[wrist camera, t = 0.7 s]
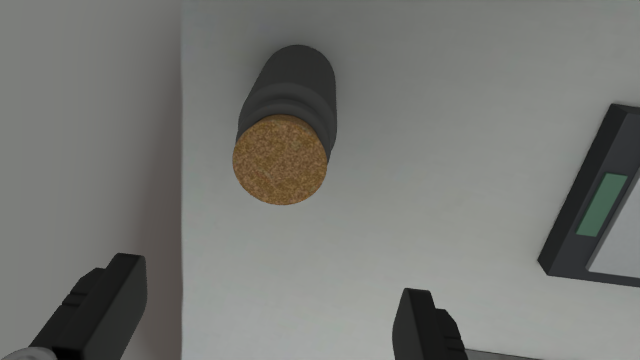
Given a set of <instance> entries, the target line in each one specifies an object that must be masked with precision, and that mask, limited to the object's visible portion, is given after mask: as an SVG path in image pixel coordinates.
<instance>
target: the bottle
mask: <svg viewBox="0 0 640 360" xmlns="http://www.w3.org/2000/svg"><path fill="white" fill-rule="evenodd" d="M336 133H337V109H336V85H335V76H334V72H333V69H332V67H331V65H330V63H329V61H328V60H327V59H326V58H325V57H324V56H323V55H322V54H321V53H320V52H318V51H317V50H315V49H313V48H310V47H307V46H302V45H293V46H288V47H285V48H282V49H280V50H279V51H277V52H276V53H274V54H273V55H272V56H271V57H270V59H269V60H268V61H267V63H266V64H265V66H264V68H263V69H262V71H261V73H260V75H259V77H258V78H257V80H256V82H255V84H254V86H253V88H252V90H251V91H250V93H249V95H248V97H247V99H246V101H245V103H244V105H243V107H242V110H241V113H240V116H239V122H238V132H237V137H236V144H235V148H234V152H233V169H234V172H235V175H236V177H237V179H238V181H239V183H240V184H241V185H242V187H243V188H244V189H245V190H246V191H247V192H248V193H249V194H250V195H252V196H254V197H255V198H257V199H259V200H261V201H263V202H266V203H269V204H275V205H289V204H295V203H298V202H301V201H303V200H305V199H307V198H308V197H310V196H311V195H313V194H314V193H315V192H316V191H317V190H318V188H319V187H320V186H321V184H322V182H323V180H324V178H325V176H326V171H327V165H328V162H329V158H330V154H331V150H332V148H333V146H334V143H335V140H336Z"/></svg>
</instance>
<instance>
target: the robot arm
mask: <svg viewBox="0 0 640 360" xmlns="http://www.w3.org/2000/svg"><path fill="white" fill-rule="evenodd" d="M146 303H147V277H146V261H145V257H144V256H141V255H133V254H124V253H117V254H116V255H115V256H114V258H113V259H112V260H111V262H110V263H109V265H108V266H107V267H106V269H103V268H95V269H93V270H92V271H91V272H89V273H88V274H86V275H85V276H83V277H82V278H80V279H79V281H78V282H77V283H76V285H75V286H74V287H73V289H72V290H71V292H70V294H69V295H67V297H66V298H65V299H64V301H63V302H62V305H60V306H59V307H58V308H57V310H56V311H55V312H54V314H53V315H52V317H51V318H50V319H49V320H48V322H47V323H46V324H45V326H44V327H43V328H42V330H41V331H40V332H39V334H38V335H37V336H36V338H35V339H34V340H33V342H32V343H31V344H30V345H29V347H28V348H24V349H20V350H18V351H15V352H13V353H11V354H9V355H7V356H6V357H4V358H3V359H1V360H120V359H121V357H122V355H123V353H124V351H125V349H126V347H127V345H128V343H129V341H130V339H131V337H132V335H133V333H134V331H135V329H136V327H137V325H138V323H139V321H140V319H141V317H142V315H143V313H144V310H145V307H146ZM392 343H393V350H394V356H395V360H469V359H468V356H467V353H466V352H465V348H464V345H463V342H462V340H461V336H460V333H459V330H458V327H457V324H456V322H455V321H454V320H453V318H452V317H451V316H450V315H449V314H448V312H447V311H446V310H445V309H436V308H435V305H434V302H433V299H432V295H431V293H430V291H428V290H419V289H411V288H405V289H404V291H403V293H402V297H401V300H400V303H399V307H398V310H397V314H396V317H395V321H394V324H393V332H392Z"/></svg>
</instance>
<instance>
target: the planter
mask: <svg viewBox="0 0 640 360" xmlns="http://www.w3.org/2000/svg"><path fill="white" fill-rule="evenodd" d="M465 352H466V353H467V356H468V359H469V360H536V359H529V358H522V357H515V356H507V355H500V354H493V353H486V352H479V351H472V350H466V349H465Z"/></svg>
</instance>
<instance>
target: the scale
mask: <svg viewBox="0 0 640 360" xmlns="http://www.w3.org/2000/svg"><path fill="white" fill-rule="evenodd" d="M538 262H539V264H540V265H541V267H542V268H543V270H544V272H545V273H546V275H548V276H556V277H563V278H571V279H579V280H586V281H594V282H602V283H609V284H617V285H625V286H633V287H640V108H637V107H631V106H624V105H617V104H611V106H610V109H609V111H608V113H607V115H606V117H605V119H604V121H603V123H602V125H601V128H600V130H599V132H598V134H597V136H596V138H595V140H594V142H593V144H592V147H591V149H590V151H589V153H588V155H587V157H586V159H585V161H584V163H583V166H582V168H581V170H580V172H579V174H578V176H577V178H576V180H575V182H574V185H573V187H572V189H571V191H570V193H569V195H568V197H567V199H566V201H565V204H564V206H563V208H562V210H561V212H560V214H559V216H558V218H557V220H556V223H555V225H554V227H553V229H552V231H551V233H550V235H549V237H548V239H547V242H546V244H545V246H544V248H543V250H542V252H541V254H540V256H539V258H538Z"/></svg>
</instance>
